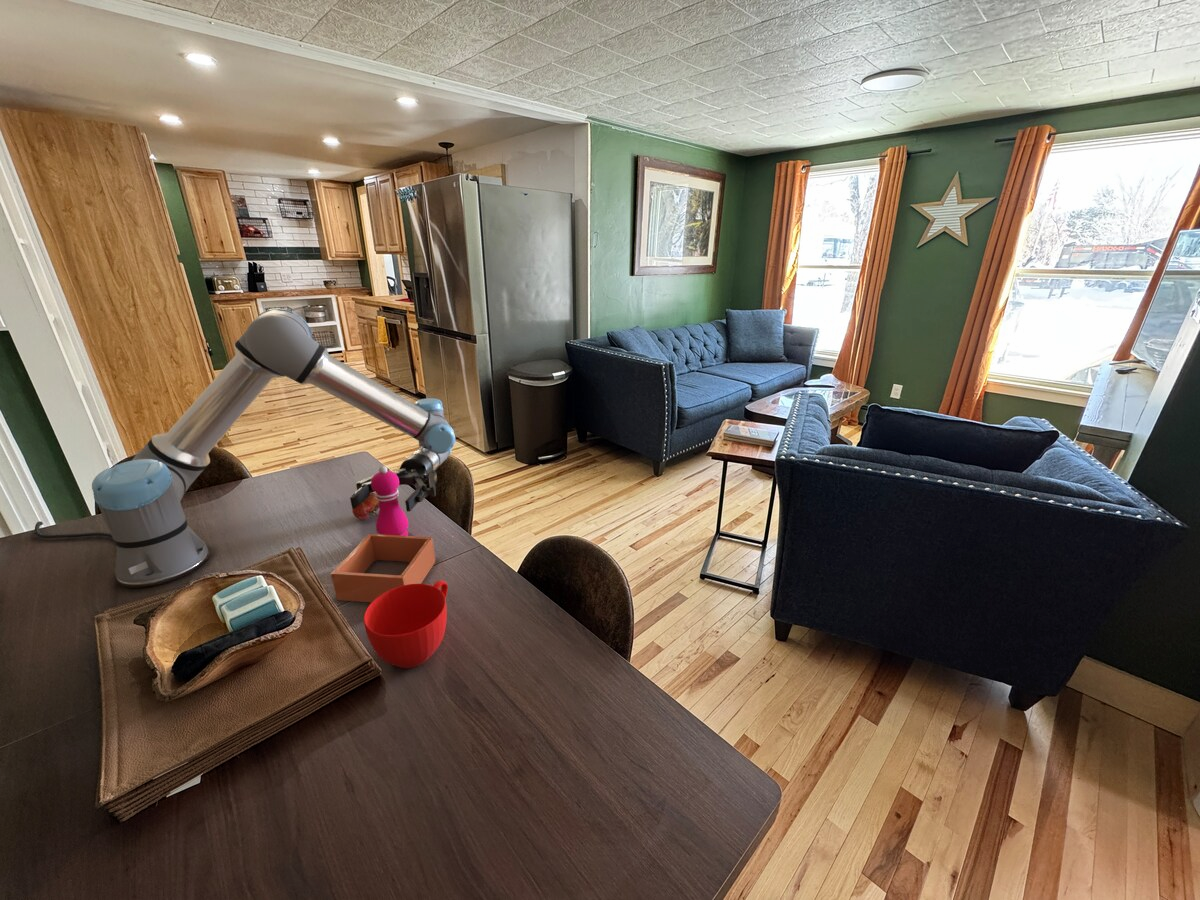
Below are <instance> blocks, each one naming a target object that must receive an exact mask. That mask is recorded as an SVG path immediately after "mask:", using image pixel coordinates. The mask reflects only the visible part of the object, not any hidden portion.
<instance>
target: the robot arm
mask: <svg viewBox="0 0 1200 900" xmlns="http://www.w3.org/2000/svg"><path fill="white" fill-rule="evenodd" d="M312 332H313V331H312V329H311V327H310V326H309V324H308V322H307V321H306V320H305V319H304V318H303V317H302V316H300V315H299V314H298V313H296V312H294V311H291V310H289V309H284V308H270V309H267V310H264V311H262V312H260V313H259V315H257V317H256V318H255V319H254V320H252V321H251V322H250V323H249V325H248V327H247V328H246V330H245V331H244V332H243V333H242V335H241V336H239V338H238V339H237V340H236V342H235V343H234V344H233V347H234V351H235V355H234V356H233V357H232V358H231V359H230V361H228V363H227V364H226V365H225V366H224V368H222V370H221V371H220V372H219V373H218V375H217V376H215V378H214V379H213V380H212V381H211V382H210V384H209V385H208V386H207V387H206V388H205V389H204V390H203V392H202V393H200V395H199V396H198V397H197V398H196V400H194V402H193V403H192V404H191V405H190V406H189V408H188V409H186V411H184V413H183V414H182V415H181V417H180V418H178V419H177V421H176V422H175V423H174V424H173V426H172V427H171V428H170V429H169V430H168V431H167V432H164V433H157V434H156V433H155V434H154V435H153V436H152V437H151V438H150V440H149V441H148V442H147V443H146V444H145V445H144V446H143V447H142V448H141V449H140V450H139V451H138V453H136V455H134V456H133V458H132V459H131V460H128V461H123V462H120V463H117V464H115V465H113V466H112V467H108V468H106V469H104V470H102V471H101V472H99V473H98V474H97V475H95V477H94V478H93V479H92V482H91V489H92V493H93V499H94V501H95V503H96V505H97V506H98V508H99V510H100V512H101V513H100V514H101V515H102V517H103V520H104V523H105V524H106V525H107V528H108V530H109V532H99V531H98V532H85V533H84V532H82V533H65V534H44V533H41V531H40V527H41V526H43V525H44V523H43V521H37V522H36V523H35V524H34V525H35V526H34V533H35V535H36V536H37V537H39V538H43V539H60V538H81V537H82V538H83V537H94V536H101V537H108V538H112V540H113V542H114V544H115V546H116V555H115V566H114V567H115V570H114V573H115V577H116V580H117V583H118V584H119V585H120V586H121V587H124V588H129V589H143V588H149V587H155V586H160V585H163V584H167V583H170V582H173V581H175V580H179V579H180V578H183V577H184V576H187V575H189V574H191V573H192V572H194V571H196V570H198V569H199V568H200V567H201V566H203V565H204V564H205V563H206V562H207V561H208V559H209V557H210V551H209V548H208V546H207V544H206V543H205V542H204V540H203V539H202V538H201V537H200V536H199V535H198V534H197V533H196V532H195V531H194V530H193V529H192V528H191V527H190V525H189V523H188V521H187V518H186V515H185V512H184V510H183V506H182V503H181V501H182V500H183V497H184V496H185V495H186V492H187V491H188V490H189V488H190V487H191V485H192V484H193V483H194V482H195V481H196V479H197V478H198V477H199V476H200V475H201V474H202V473H203V471H204V470H205V469H206V468H207V467H208V465H209V464H210V463H211V457H210V455H209V453H210V452H211V451H213V449H214V447H216V445H217V444H218V443H219V442H220V441H221V439H222V438H223V437H224V436H225V435H226V434H227V433H228V431H229V430H230V429H231V428H232V427H233V426H234V424H236V422H238V420H239V419H240V418H241V417H242V415H243V414H244V413H245V412H247V410H248V408H250V406H251V405H252V404H253V402H255V400H256V399H257V398H258V397H259V396H260V395H261V394H262V392H263V391H264V390H265V389H266V388H267V387H268V385H269V384H270V383H271V382H272V381H273V380H274V379H278V378H279V379H280V378H285V377H286V378H289V379H291V380H293V381H294V382H296V383H298V384H300V385H302V386H303V385H309V384H310V385H312V386H314V387H316V388H318V389H320V390H321V391H323V392H326V393H328V394H329V395H331V396H333V397H335V398H337V399H339V400H341V401H343V403H344V402H345V403H346V404H349V405H350V406H352V407H355V408H356V409H357V410H360V411H361V412H363V413H365V414H367V415H370V416H371V417H373V418H374V419H377V420H379V421H380V422H382V423H384V424H386V425H387V426H390V427H392V428H394V429H396V430H398V431H400V432H401V433H403V434H406V435H407V436H409V437H411V438H412V439H415V440H416V441H418V446H419V447H418V448H416V450H415V451H414V452H412V453H411V454H410V455H409V456H408V457H407V458H406V459H405V460H403V461H402V463H401V464H400V467H399V469H396V470H394V471H393V472H394V473H395V474H396V475H397V476H398V478H399V486H403V485H406V486H413V487H414V488H415V490H414V491H413V492H412V493H411V494H410V495H409V497H407V498H406V499H405V501H404V503H405V509H406V512H410V513H411V511H412V510H413V509H414V508H415V507H416V506H417V505H418V504H419V503H422V502H423V501H424V499H425V498H429V496H430V497H432V498H434V497H437V491H436V490H437V489H436V483H437V481H438V476H437V471H436V470H437V469H438V468H439V467H440V466H441V465H442V464H443V463H444V462H446V461H447V460H448V458H449V456H450V455H451V453H452V452H453V448H454V446H455V443H456V435H455V431H454V429H453V428H452V426H451V425H450V424H449V422H448V420H447V419H446V417H445V414H444V408H443V402H442V401H441V400H440V399H438V398H431V397H430V398H429V397H427V398H421V399H419V400H416V401H415V402H414V403H413V402H412V401H410V400H409V399H406V398H404V397H403V396H401V395H399V394H397V393H396V392H394V391H392V390H391V389H389V388H387V387H385V386H384V385H382V384H380V383H378V382H377V381H375V380H373V379H372V378H370V377H368V376H366V375H365V374H363V373H361V372H360V371H358V370H356V369H354V368H352V367H351V366H349V365H347V364H346V363H344V362H342V361H340V360H339V359H337V358H335V357H334V356H332V355H330V354H329V351H328V348H327V347H325V346H324V345H323V344H320V343H318V341H316V340H314V338H313V333H312ZM387 471H390V468H387ZM374 475H375V474H373V475H370V476H368V477H366V478H363V479H361V480H359V481H357V482H356V483H355V485H356V491H354V493H353V494H354V495H353V494H352V495H353V496H352V495H351V497H350V498H349V499H350V504H351V509H352V508H356V507H358V506H359V505H360V504H361V503H362V502H363V501H364V500H365V499H366V498H368V497H369V496H370V493H374V492H375V491H374V490H373V489H372V487H371V480H372V478H373V476H374ZM427 481H428V482H429V487H427V484H425V482H427ZM375 493H376V492H375ZM37 530H39V531H37ZM35 531H36V532H35Z"/></svg>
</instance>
